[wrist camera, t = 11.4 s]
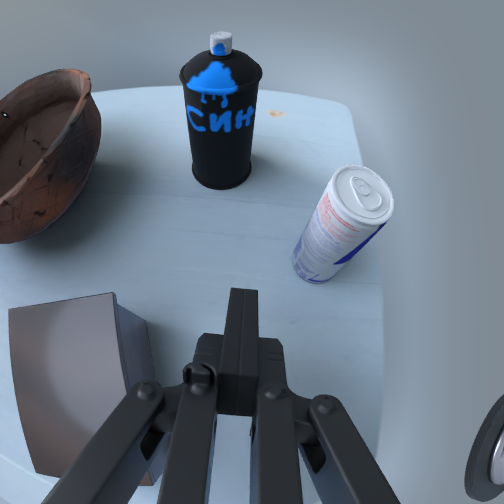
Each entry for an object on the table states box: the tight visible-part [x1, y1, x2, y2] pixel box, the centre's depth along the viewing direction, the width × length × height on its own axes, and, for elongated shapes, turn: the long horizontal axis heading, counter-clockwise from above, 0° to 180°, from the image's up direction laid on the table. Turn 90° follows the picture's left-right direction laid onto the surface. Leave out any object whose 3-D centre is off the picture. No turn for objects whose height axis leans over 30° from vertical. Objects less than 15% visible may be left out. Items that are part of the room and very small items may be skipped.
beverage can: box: [292, 164, 395, 283], centre depth 27 cm, size 6×6×15 cm
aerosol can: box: [179, 32, 262, 190], centre depth 29 cm, size 8×8×20 cm
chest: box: [117, 304, 171, 482], centre depth 22 cm, size 16×13×9 cm
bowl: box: [0, 69, 101, 244], centre depth 28 cm, size 25×25×15 cm
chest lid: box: [8, 292, 155, 486], centre depth 17 cm, size 16×13×1 cm
